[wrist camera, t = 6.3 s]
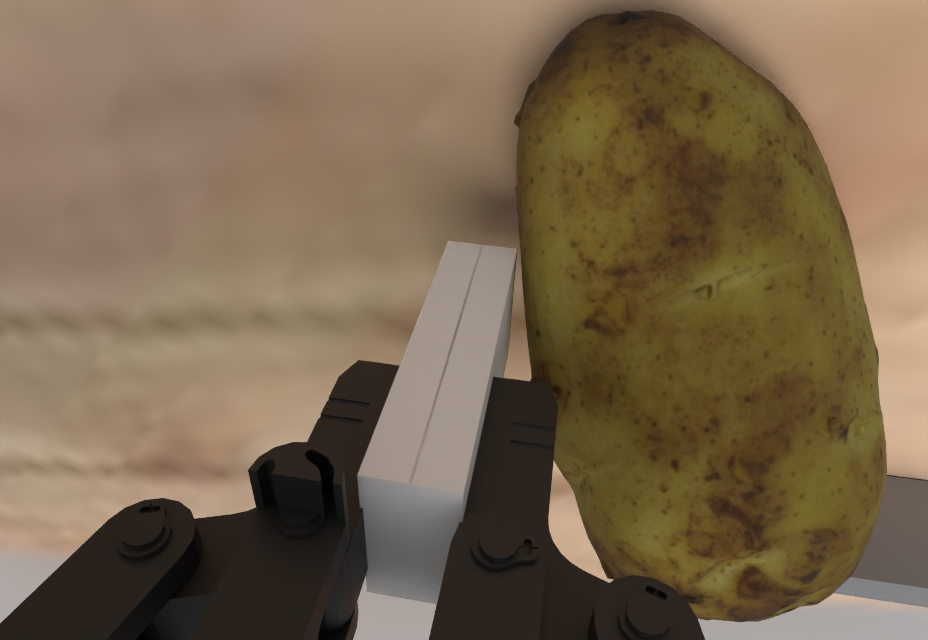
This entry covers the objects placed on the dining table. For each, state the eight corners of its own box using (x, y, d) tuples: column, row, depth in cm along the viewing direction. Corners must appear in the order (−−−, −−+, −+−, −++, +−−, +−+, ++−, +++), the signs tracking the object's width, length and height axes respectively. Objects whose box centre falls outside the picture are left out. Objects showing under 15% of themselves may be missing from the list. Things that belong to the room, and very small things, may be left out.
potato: (941, -22, 14) (1221, 120, 8) (796, 437, 22) (878, 701, 15) (526, -12, 15) (471, 115, 9) (526, 417, 23) (496, 652, 16)
